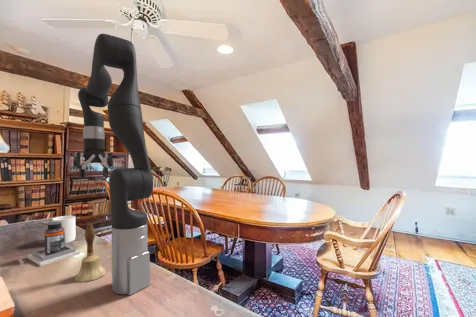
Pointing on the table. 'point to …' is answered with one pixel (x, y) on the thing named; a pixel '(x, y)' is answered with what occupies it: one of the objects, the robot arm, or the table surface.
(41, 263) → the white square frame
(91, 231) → the hand bell
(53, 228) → the supplement bottle
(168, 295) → the table surface
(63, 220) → the mug
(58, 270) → the table surface
